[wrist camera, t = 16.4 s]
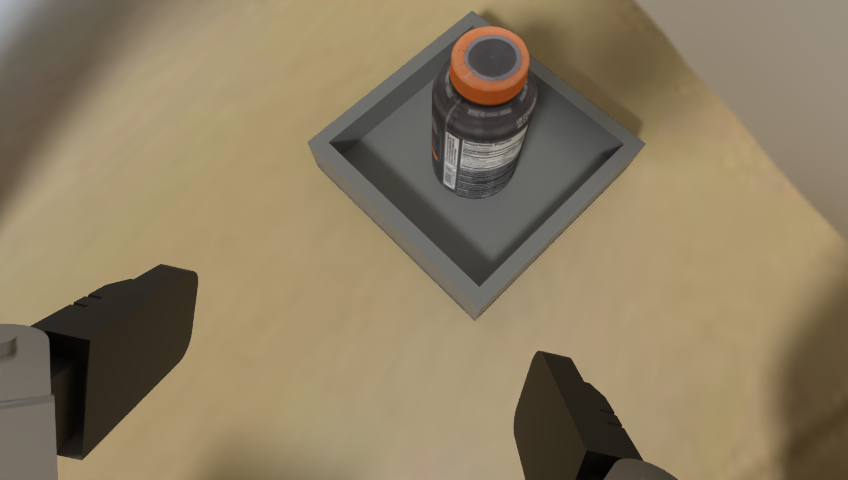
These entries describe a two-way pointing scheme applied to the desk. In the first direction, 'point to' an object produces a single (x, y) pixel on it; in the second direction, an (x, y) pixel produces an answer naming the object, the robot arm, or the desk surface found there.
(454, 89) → the pill bottle
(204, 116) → the desk surface
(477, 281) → the tray
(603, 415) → the robot arm
